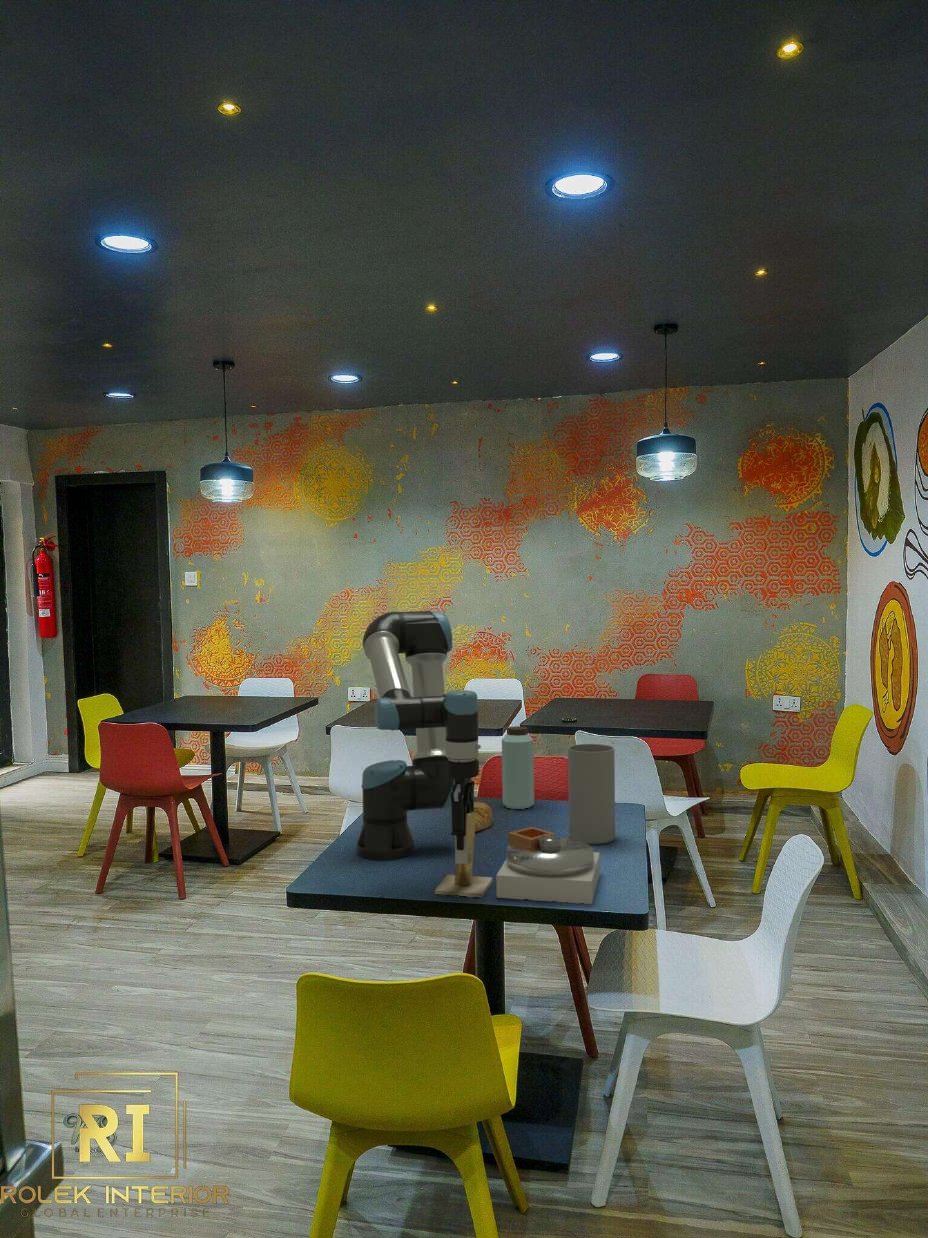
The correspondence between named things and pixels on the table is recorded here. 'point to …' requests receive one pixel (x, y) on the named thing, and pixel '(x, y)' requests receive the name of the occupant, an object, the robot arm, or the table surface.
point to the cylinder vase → (591, 793)
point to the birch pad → (464, 887)
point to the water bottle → (517, 768)
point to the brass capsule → (465, 870)
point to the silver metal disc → (547, 853)
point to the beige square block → (549, 885)
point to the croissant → (482, 816)
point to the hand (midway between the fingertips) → (464, 860)
